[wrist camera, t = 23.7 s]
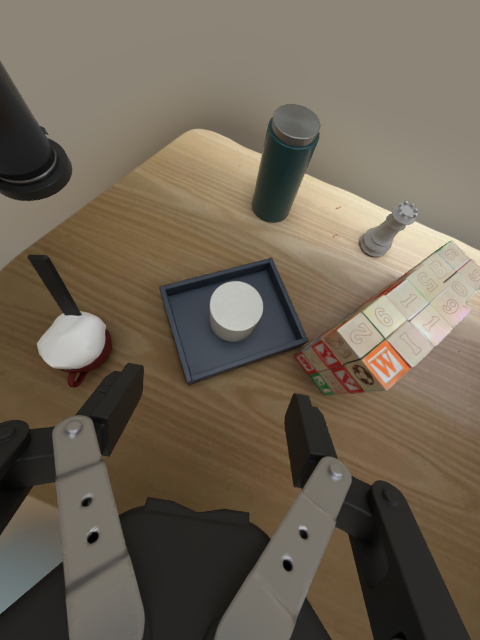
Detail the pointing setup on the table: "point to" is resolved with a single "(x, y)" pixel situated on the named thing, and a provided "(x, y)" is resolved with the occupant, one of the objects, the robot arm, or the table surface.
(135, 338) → the table surface
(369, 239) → the rook chess piece
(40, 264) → the cocoa
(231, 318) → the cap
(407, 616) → the robot arm
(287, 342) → the tray
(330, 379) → the stack of blocks
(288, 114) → the green metal cylinder
